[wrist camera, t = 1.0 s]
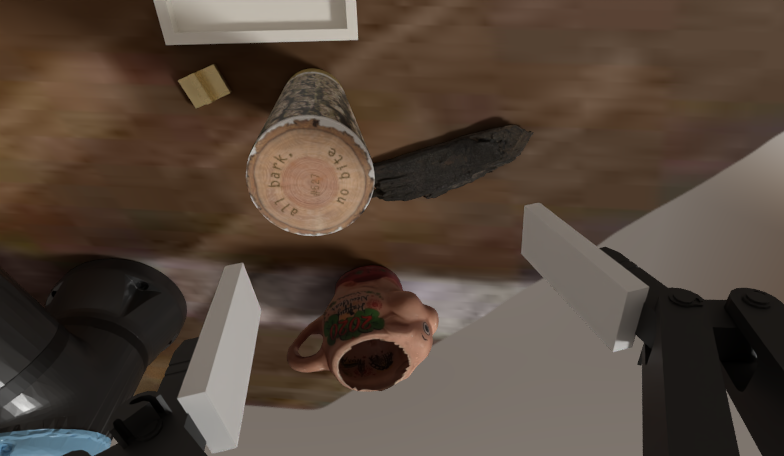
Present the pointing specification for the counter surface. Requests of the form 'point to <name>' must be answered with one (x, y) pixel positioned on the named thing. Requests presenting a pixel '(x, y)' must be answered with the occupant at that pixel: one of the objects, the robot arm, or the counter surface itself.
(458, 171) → the wood
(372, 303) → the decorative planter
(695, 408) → the robot arm
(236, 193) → the counter surface
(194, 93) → the tan short block
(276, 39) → the ceramic dish
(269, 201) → the paper tube
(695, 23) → the counter surface
